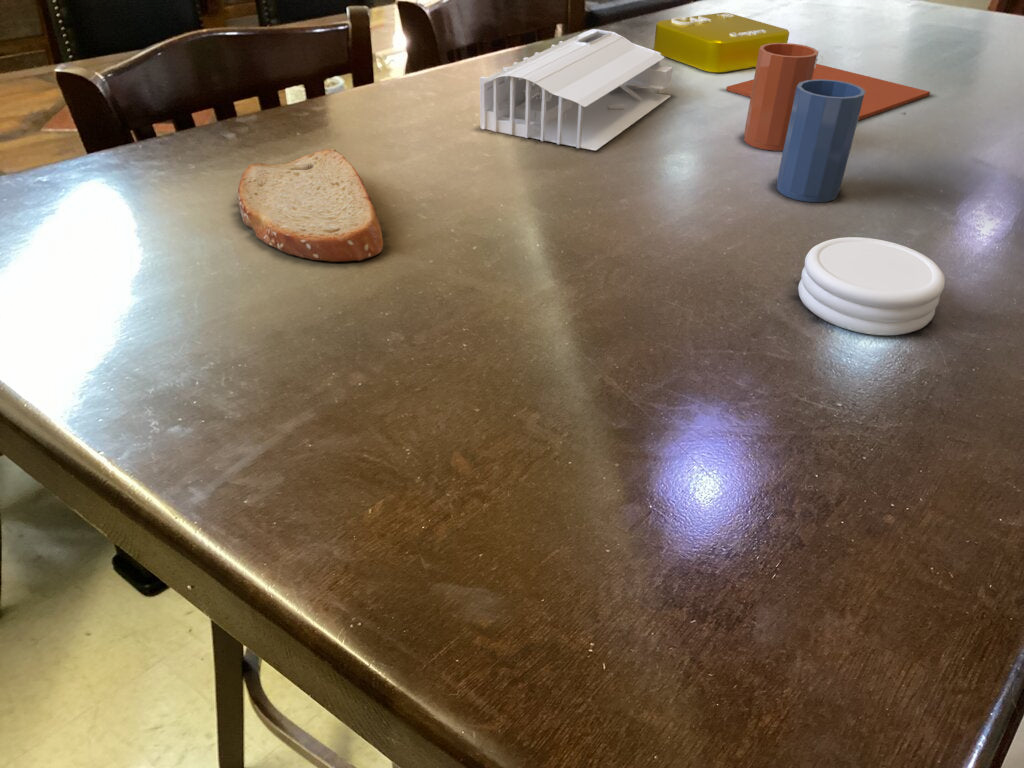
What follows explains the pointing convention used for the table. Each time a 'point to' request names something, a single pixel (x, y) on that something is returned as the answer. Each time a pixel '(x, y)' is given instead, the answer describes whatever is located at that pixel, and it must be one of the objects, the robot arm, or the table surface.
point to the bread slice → (311, 208)
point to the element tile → (715, 41)
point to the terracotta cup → (776, 92)
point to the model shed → (575, 91)
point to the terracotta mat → (877, 90)
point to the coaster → (870, 285)
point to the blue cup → (819, 139)
